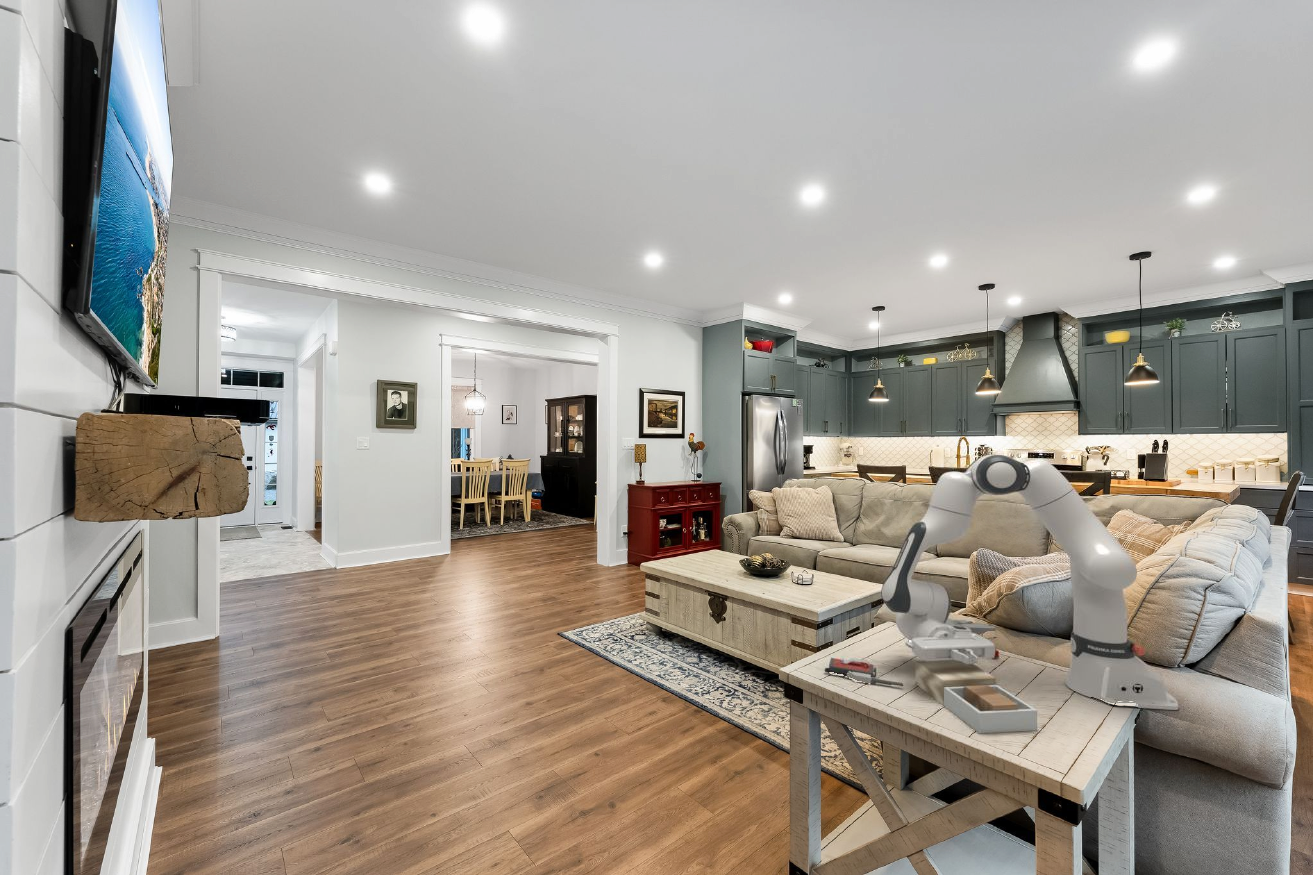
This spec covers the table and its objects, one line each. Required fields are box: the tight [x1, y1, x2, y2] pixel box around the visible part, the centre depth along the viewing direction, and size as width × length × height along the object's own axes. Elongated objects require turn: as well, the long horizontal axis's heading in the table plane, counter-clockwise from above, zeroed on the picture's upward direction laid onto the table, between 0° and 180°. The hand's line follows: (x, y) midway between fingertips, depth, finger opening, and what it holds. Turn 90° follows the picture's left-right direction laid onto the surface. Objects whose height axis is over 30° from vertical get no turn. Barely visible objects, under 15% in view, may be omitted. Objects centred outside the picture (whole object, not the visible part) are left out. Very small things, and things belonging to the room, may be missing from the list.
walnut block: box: [964, 685, 1018, 711], centre depth 133 cm, size 5×6×10 cm
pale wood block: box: [914, 660, 997, 706], centre depth 147 cm, size 12×14×6 cm
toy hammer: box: [945, 618, 1000, 659], centre depth 184 cm, size 24×4×30 cm
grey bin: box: [943, 684, 1038, 734], centre depth 134 cm, size 13×14×4 cm
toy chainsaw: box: [824, 657, 904, 687], centre depth 156 cm, size 9×4×20 cm
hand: (972, 660), depth 140 cm, fingers closed
